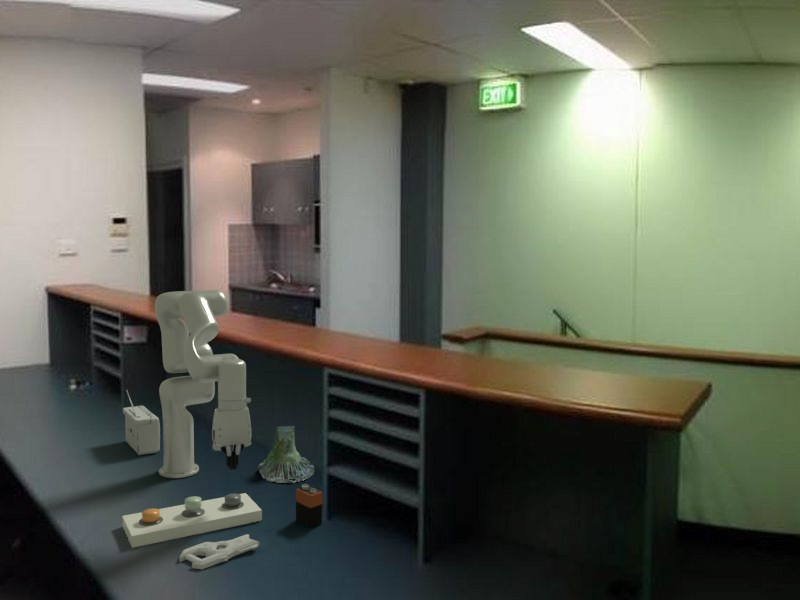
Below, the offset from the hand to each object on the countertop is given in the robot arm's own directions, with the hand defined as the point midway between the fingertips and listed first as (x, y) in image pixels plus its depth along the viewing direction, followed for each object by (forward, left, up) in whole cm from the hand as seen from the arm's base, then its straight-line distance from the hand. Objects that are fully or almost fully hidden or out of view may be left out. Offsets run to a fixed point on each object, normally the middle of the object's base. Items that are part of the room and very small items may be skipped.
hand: (232, 467), depth 192 cm
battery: (+14, +17, -14) cm, 26 cm away
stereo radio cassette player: (-74, -11, -14) cm, 76 cm away
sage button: (0, -11, -9) cm, 14 cm away
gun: (+21, -10, -14) cm, 28 cm away
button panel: (0, -11, -14) cm, 18 cm away
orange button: (0, -22, -10) cm, 24 cm away
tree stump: (-25, +26, -14) cm, 38 cm away
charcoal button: (0, 0, -10) cm, 10 cm away
